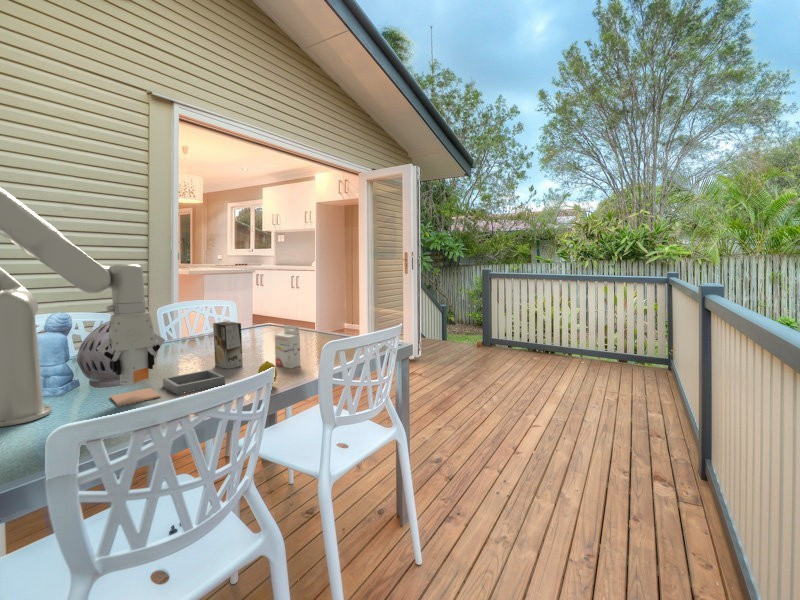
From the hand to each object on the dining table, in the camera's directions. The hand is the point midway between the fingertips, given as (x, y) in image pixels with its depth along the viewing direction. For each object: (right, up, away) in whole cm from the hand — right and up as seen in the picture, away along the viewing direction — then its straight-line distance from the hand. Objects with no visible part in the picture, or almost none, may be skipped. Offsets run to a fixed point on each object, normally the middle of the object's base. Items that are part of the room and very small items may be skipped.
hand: (134, 370), depth 115 cm
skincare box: (0, -3, 0) cm, 3 cm away
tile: (0, -8, +1) cm, 8 cm away
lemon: (+34, -7, +11) cm, 37 cm away
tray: (+11, -7, +12) cm, 18 cm away
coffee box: (+11, -5, +36) cm, 38 cm away
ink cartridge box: (+33, -5, +36) cm, 49 cm away
